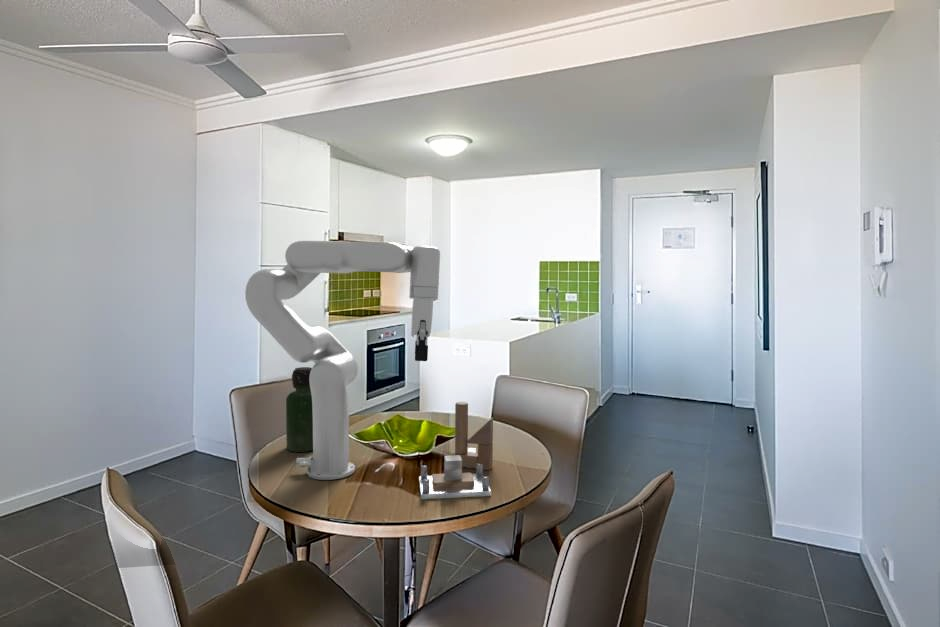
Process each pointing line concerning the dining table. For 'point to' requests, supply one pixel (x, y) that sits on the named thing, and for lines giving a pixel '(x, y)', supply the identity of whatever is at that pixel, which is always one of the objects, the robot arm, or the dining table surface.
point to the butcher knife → (472, 450)
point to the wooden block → (472, 440)
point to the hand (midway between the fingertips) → (420, 358)
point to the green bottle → (300, 413)
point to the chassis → (478, 490)
